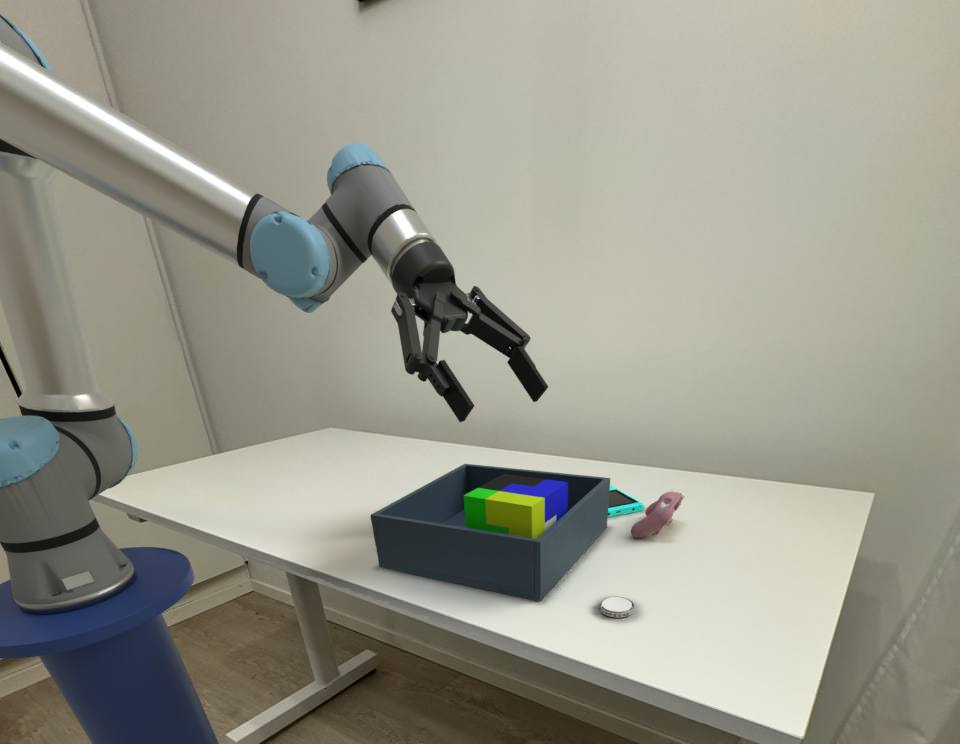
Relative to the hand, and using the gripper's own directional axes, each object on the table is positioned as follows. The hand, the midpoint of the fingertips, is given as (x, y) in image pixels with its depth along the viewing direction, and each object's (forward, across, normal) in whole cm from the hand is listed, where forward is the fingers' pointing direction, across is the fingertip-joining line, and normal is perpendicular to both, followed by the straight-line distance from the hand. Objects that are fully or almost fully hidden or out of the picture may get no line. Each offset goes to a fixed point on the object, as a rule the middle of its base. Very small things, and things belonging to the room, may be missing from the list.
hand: (506, 404), depth 69 cm
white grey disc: (+29, +3, -1) cm, 29 cm away
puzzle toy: (+16, +1, -12) cm, 20 cm away
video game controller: (+23, -22, -7) cm, 32 cm away
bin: (+12, -2, -18) cm, 21 cm away
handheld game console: (+12, -27, -18) cm, 34 cm away
